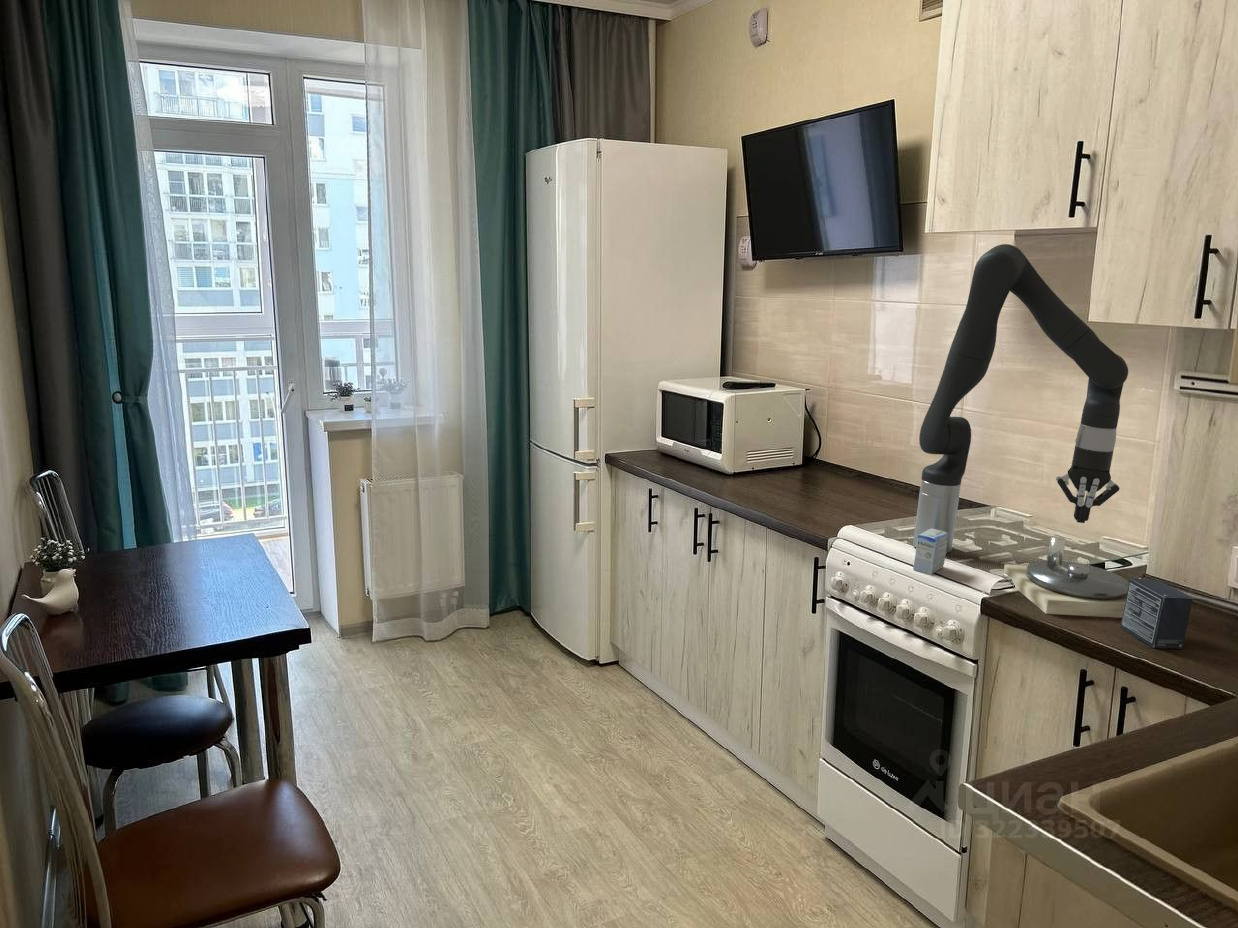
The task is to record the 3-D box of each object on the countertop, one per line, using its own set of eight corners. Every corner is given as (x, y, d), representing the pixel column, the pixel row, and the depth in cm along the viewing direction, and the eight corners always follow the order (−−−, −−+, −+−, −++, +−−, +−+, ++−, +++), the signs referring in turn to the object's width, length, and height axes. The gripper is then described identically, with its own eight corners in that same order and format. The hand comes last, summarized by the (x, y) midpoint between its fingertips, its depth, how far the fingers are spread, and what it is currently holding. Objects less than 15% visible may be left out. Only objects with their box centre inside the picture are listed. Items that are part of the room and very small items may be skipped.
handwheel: (1151, 597, 189) (1157, 563, 187) (1068, 600, 184) (1074, 565, 182) (1083, 565, 208) (1089, 534, 206) (1006, 567, 203) (1011, 535, 201)
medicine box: (925, 562, 215) (930, 527, 213) (944, 567, 212) (949, 532, 210) (912, 570, 209) (917, 534, 207) (931, 575, 206) (936, 539, 204)
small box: (1185, 650, 171) (1196, 597, 169) (1153, 649, 171) (1163, 597, 168) (1149, 627, 182) (1159, 578, 179) (1118, 627, 181) (1127, 577, 179)
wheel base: (1002, 576, 207) (1004, 564, 207) (1098, 582, 207) (1100, 569, 207) (1045, 613, 186) (1048, 600, 185) (1152, 619, 186) (1155, 605, 185)
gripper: (1063, 445, 196) (1049, 522, 200) (1131, 453, 192) (1116, 531, 196) (1059, 439, 202) (1046, 513, 207) (1125, 446, 198) (1110, 521, 203)
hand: (1080, 521), depth 201 cm, fingers closed
